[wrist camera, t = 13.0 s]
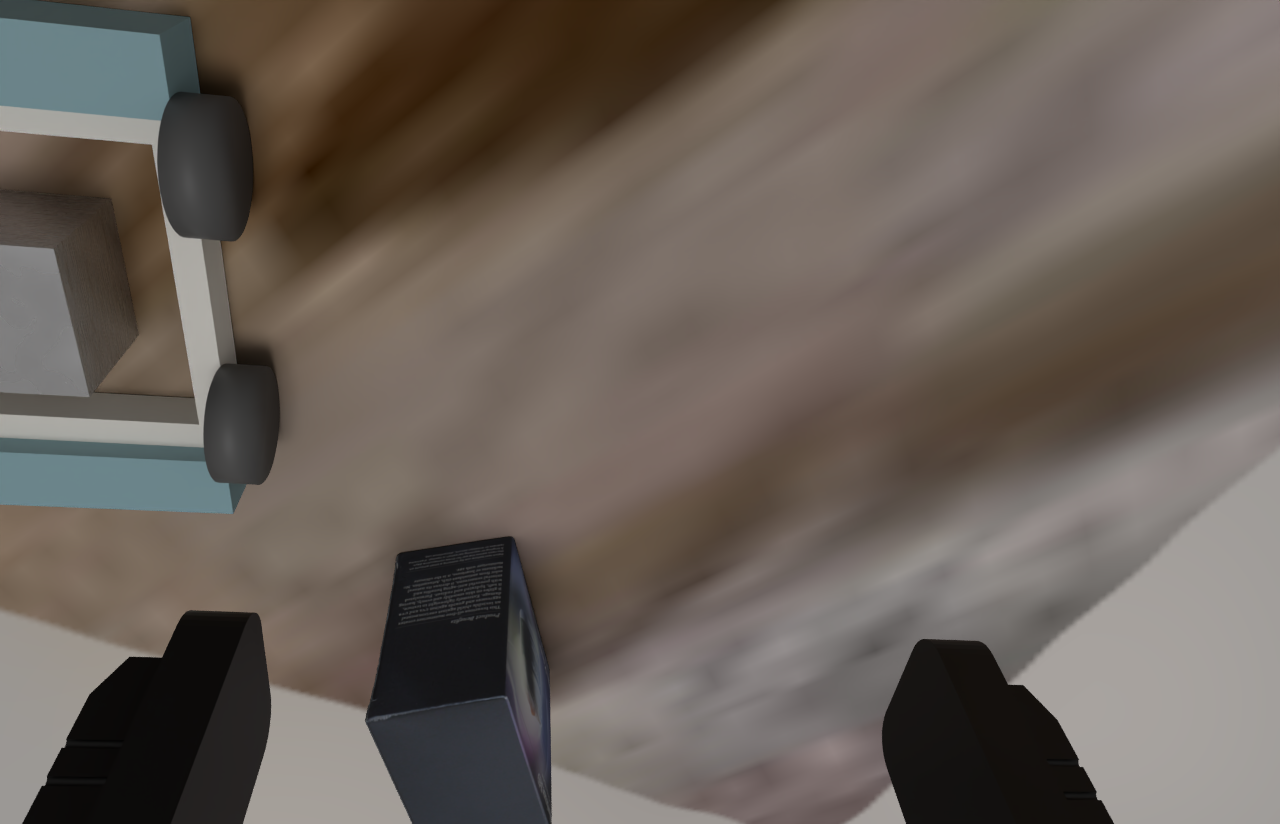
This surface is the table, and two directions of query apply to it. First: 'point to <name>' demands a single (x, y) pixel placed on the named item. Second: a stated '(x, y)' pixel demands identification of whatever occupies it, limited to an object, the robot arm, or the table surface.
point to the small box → (464, 689)
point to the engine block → (61, 294)
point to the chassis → (195, 223)
